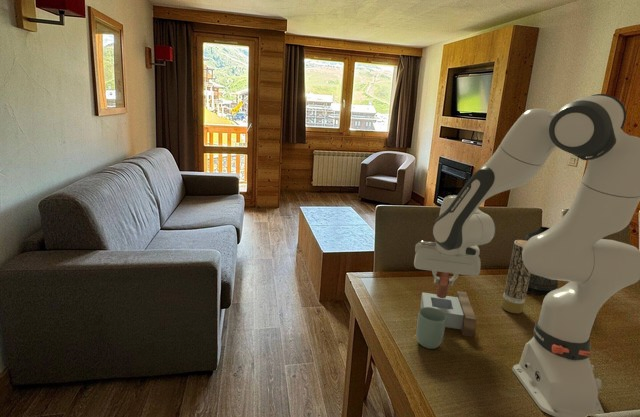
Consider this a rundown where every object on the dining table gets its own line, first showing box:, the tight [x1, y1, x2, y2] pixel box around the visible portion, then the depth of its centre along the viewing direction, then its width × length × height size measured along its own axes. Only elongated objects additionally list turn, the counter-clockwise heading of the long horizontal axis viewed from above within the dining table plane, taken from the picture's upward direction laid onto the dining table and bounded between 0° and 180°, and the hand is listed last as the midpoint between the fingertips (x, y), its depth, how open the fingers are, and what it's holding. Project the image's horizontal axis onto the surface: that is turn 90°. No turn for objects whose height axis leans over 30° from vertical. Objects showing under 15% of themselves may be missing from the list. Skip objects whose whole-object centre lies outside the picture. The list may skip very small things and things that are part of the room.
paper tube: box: [501, 239, 531, 314], centre depth 130 cm, size 7×7×25 cm
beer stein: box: [525, 226, 559, 296], centre depth 148 cm, size 16×19×25 cm
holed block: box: [419, 292, 464, 330], centre depth 125 cm, size 12×12×5 cm
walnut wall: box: [455, 290, 477, 337], centre depth 124 cm, size 18×3×6 cm, turn 169°
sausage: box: [436, 272, 451, 298], centre depth 123 cm, size 3×3×9 cm
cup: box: [415, 307, 447, 350], centre depth 109 cm, size 8×8×10 cm
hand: (443, 283), depth 123 cm, fingers closed on sausage, 3 cm apart
